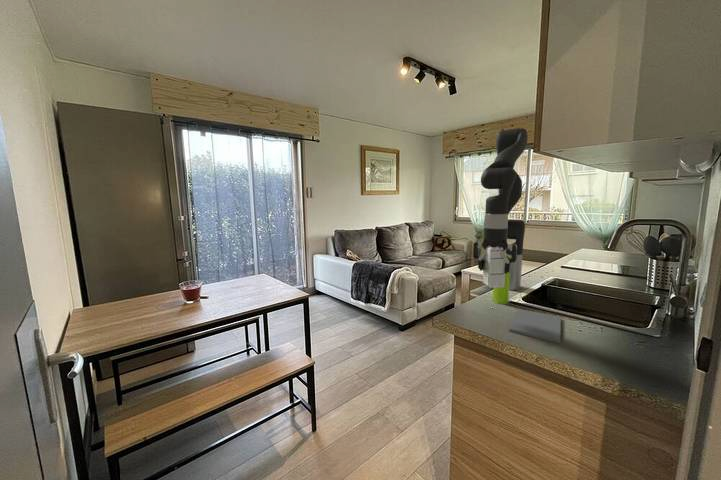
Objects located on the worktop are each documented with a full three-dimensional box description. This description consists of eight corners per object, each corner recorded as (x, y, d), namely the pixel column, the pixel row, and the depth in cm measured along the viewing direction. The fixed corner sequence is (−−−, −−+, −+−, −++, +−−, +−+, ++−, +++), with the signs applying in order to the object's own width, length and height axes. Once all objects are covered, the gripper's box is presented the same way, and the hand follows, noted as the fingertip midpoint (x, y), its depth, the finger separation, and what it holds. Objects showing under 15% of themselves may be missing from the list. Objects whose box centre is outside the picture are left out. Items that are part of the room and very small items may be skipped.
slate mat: (517, 311, 112) (517, 308, 112) (560, 319, 104) (560, 316, 104) (509, 331, 96) (509, 328, 96) (559, 343, 88) (560, 340, 88)
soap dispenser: (513, 303, 120) (516, 257, 117) (496, 304, 120) (498, 257, 117) (506, 298, 126) (509, 254, 122) (490, 298, 126) (492, 254, 123)
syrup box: (504, 287, 101) (507, 247, 98) (488, 287, 101) (490, 247, 98) (497, 282, 106) (499, 244, 104) (481, 282, 106) (483, 244, 104)
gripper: (520, 226, 99) (517, 271, 101) (476, 224, 107) (475, 266, 109) (517, 228, 92) (514, 277, 95) (471, 226, 101) (470, 271, 103)
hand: (493, 271), depth 102 cm, fingers closed on syrup box, 7 cm apart
